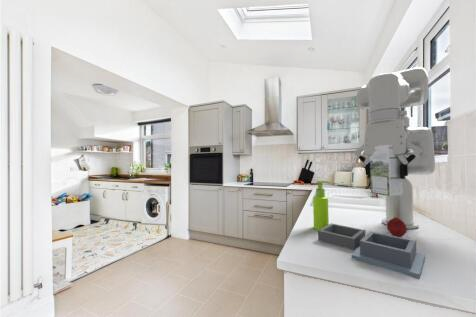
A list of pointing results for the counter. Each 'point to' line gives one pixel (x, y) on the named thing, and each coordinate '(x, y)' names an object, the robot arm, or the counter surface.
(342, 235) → the grey square tray
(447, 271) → the counter surface
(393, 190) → the syrup box
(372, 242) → the frame
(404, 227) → the onion
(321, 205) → the soap dispenser
